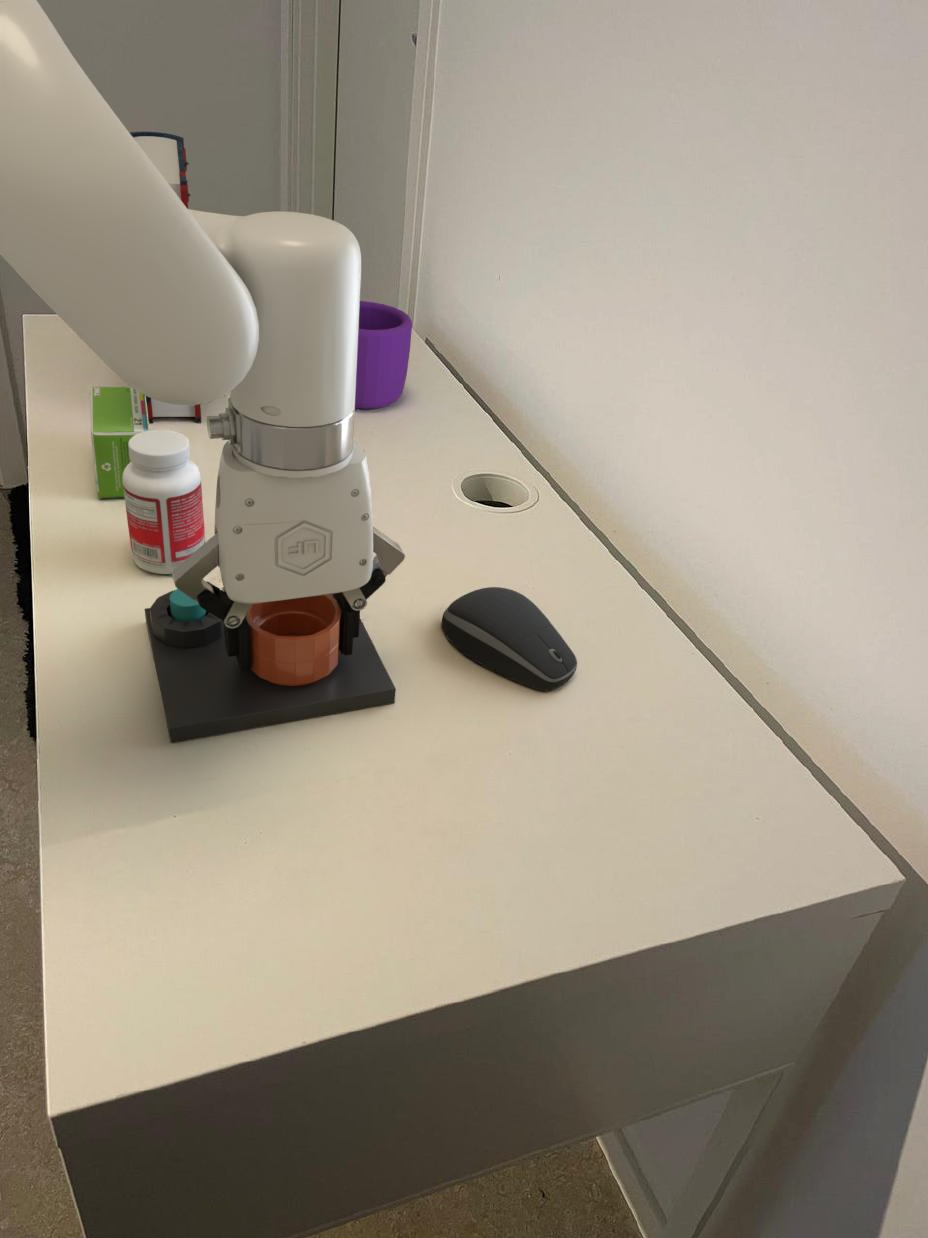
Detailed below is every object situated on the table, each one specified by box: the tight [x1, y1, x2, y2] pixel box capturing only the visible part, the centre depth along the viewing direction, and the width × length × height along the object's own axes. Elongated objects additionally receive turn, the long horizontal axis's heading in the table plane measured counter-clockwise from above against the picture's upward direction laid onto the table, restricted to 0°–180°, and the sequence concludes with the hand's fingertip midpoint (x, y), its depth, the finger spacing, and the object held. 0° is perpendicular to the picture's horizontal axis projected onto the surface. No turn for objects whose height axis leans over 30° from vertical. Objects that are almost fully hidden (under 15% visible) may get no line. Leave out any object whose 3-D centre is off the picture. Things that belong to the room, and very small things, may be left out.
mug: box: [355, 300, 413, 410], centre depth 111 cm, size 17×11×10 cm, turn 24°
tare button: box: [170, 588, 207, 622], centre depth 68 cm, size 3×3×2 cm
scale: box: [144, 590, 397, 744], centre depth 68 cm, size 16×14×3 cm
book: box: [129, 131, 202, 424], centre depth 102 cm, size 25×7×25 cm, turn 15°
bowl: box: [246, 594, 342, 686], centre depth 66 cm, size 7×7×5 cm
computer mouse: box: [441, 586, 578, 691], centre depth 73 cm, size 7×12×4 cm, turn 49°
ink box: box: [89, 386, 150, 500], centre depth 85 cm, size 10×5×14 cm, turn 18°
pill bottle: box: [122, 429, 206, 575], centre depth 75 cm, size 6×6×11 cm
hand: (293, 650), depth 67 cm, fingers closed on bowl, 6 cm apart
